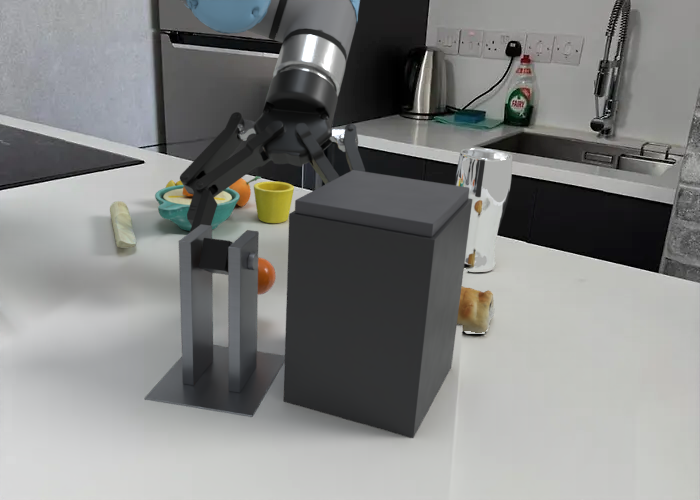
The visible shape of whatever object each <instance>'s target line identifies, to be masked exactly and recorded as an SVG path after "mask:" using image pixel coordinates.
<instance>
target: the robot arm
mask: <svg viewBox="0 0 700 500" xmlns="http://www.w3.org/2000/svg"><path fill="white" fill-rule="evenodd" d="M179 1H180V2H182V3H183V5H184V6H185V7H186V8H187V9H188V10H190V11H191V12H192V14H193V16H194V17H195V18H196V19H197V20H198V21H199V22H200V23H202V24H203V25H205V26H206V27H208V28H209V29H211V30H212V31H214V32H217V33H221V34H226V35H230V34H241V33H246V32H247V31H248V32H249V33H252V34H256V35H259V36H262V37H265V38H268V39H269V40H271V41H276V42H279V43H282V44H281V48H280V51H279V54H278V57H277V59H276V60H277V61H276V64H275V66H274V70H273V74H272V78H271V81H270V84H269V87H268V90H267V94H266V96H265V101H264V105H263V109H262V113H261V115H260V116H259V117H258V118H257V120H253V119H248V118H243V115H242V113H240V112H238V111H235V112H233V113H232V114H230V116H229V119H228V121H227V123H226V125H225V128H224V129H223V130H222V131H221V132H220V133H219V134H218V135H217V136H216V137H215V138H214V139H213V140H212V141H211V142H210V144H209V145H207V146H206V148H205V149H204V150H203V151H202V152H201V153H200V154H199V155H198V156H197V157H196V158H195V159H194V161H193V160H192V162H191V164H189V165H188V167H186V169H185V170H184V171H183V172H182V173H181V174H179V175H180V176H179V181H180V180H181V182H182V184H183V185H184V187H185V189H186V191H187V192H188V193H189V194H193V197H192V200H191V204H190V207H189V210H188V213H187V219H188V221H189V222H190V224H191V225H192V227H191V230H190V231H189V233H190V232H191V231H193V230H194V229H196V228H197V227H198V226H200V225H210V226H211V224H212V220H213V217H214V214H215V211H216V207H217V203H216V201H215V199H214V197H215V196H217V195H218V194H219V193H221V192H222V191H224V190H225V189H226V188H228V187H229V186H231V185H232V184H233V183H235V182H236V181H238V180H239V179H240V178H242V179H243V178H244V177H245V176H246V175H247V174H250V172H251V171H253V170H255V169H256V168H261V167H263V166H265V165H266V164H267V163H269V162H271V161H272V162H273V164H276V165H286V164H289V165H292V166H295V167H302V168H303V165H307V164H308V163H309V164H310V165H311V167H312V168H313V169H314V171H315V173H316V174H318V176H319V177H320V179H321V181H322V182H323V183H324V185H325V184H327V183H329V182H331V181H333V180H335V179H337V178H339V177H340V175H339V174H338V172H337V171H336V169H335V167H334V166H333V165H332V163H331V162H330V160H329V159H328V157H327V156H326V154H325V152H324V151H325V150H326V149H327V148H328V147H330V146H331V145H332V144H333V143H336V145H337V148H338V149H339V150H340V151H342V152H343V153H345V158H346V161H347V164H348V167H349V168H348V169H349V170H350V171H352V170H356V171H363V172H367V171H366V168H365V165H364V161H363V159H362V158H361V154H360V152H359V138H358V130H357V126H356V124H354V123H348V124H345V127H344V128H332V126H333V123H334V122H333V121H334V117H335V114H336V109H337V106H338V105H337V104H338V101H339V100H338V97H339V95H340V91H341V87H342V83H343V79H344V77H345V76H344V75H345V72H346V66H347V62H348V58H349V54H350V51H351V46H352V42H353V38H354V35H355V30H356V26H357V24H358V21H359V9H360V2H361V0H179ZM252 134H255V136H253V137H251V139H249V140H248V137H250V135H252ZM247 140H248V141H247ZM246 141H247V142H246ZM242 142H246V144H245V146H244V147H243V148H241V149H240V150H239V151H237V149H238V148H239V147H240V146H241V144H242ZM261 148H262V151H261ZM236 151H237V152H236ZM234 152H236V153H235V154H234ZM350 171H349V172H350Z"/></svg>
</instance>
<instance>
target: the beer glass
mask: <svg viewBox="0 0 700 500" xmlns="http://www.w3.org/2000/svg"><path fill="white" fill-rule="evenodd" d="M513 159H514V156H513V154H511V153H509V152H507V151H503V150H499V149H491V148H482V147H469V148H463V149H461V150H460V152H459V156H458V162H457V167H456V172H455V179H454V185H455V186H462V187H468V188H469V196H468V198H469V199H472V207H471V215H470V223H469V231H468V239H467V247H466V255H465V263H464V268H466V269H473V270H483V269H489V268H492V267H494V266H495V267H496V241H497V236H498V234H499V231H500V227H501V224H502V221H503V218H504V215H505V212H506V208H507V206H508V202H509V197H510V192H511V185H512V175H513Z"/></svg>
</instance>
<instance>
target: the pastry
mask: <svg viewBox="0 0 700 500" xmlns="http://www.w3.org/2000/svg"><path fill="white" fill-rule="evenodd" d="M494 301H495V300H494V293H493V292H492V291H491V290H490V289H487V290H485V291H484V292H483V291H482V290H481V291H480V290H477V289H475V288H472V287H466V286H463V285H462V287H461V294H460V302H459V310H458V318H457V325H460V326H462V330H463V331H471V332H475V333H482V332H486V330H487V329H488V328H489V329H490V325H489V323H490V321H491V320H492V319H493V318H494V317H495V308H494V307H495V306H494ZM490 324H491V323H490ZM488 326H489V327H488ZM486 333H487V332H486Z"/></svg>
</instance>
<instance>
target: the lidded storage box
mask: <svg viewBox="0 0 700 500" xmlns="http://www.w3.org/2000/svg"><path fill="white" fill-rule="evenodd" d="M468 196H469V188H468V187H462V186H455V184H448V183H443V182H442V183H441V182H436V181H435V182H434V181H428V180H421V179H414V178H409V177H401V176H395V175H389V174H381V173H377V172H369V171H366V172H363V171H356V170H352V171H349V172H346V173H344V174H343V175H341V176H339V178H337V179H335V180H333V181H331V182H329V183H327V184H325V183H324V184H323V185H322V186H319V187H318V188H315V189H313V190H312V191H310V192H308V193H306V194H304V195H302V196H300V197H299V198H297V199H295V200H294V201H295V203H294V210H293V211H291V212H289V217H288V243H287V270H286V271H287V275H286V276H287V277H286V304H285V305H286V306H285V307H286V308H285V309H286V312H285V341H284V355H285V362H284V371H283V372H284V374H283V403H285V404H287V403H288V404H290V405H293V406H298V407H301V408H305V409H308V410H312V411H315V412H318V413H322V414H326V415H329V416H334V417H336V418H340V419H343V420H347V421H350V422H354V423H356V424H357V423H358V424H361V425H364V426H368V427H372V428H374V429H379V430H382V431H386V432H390V433H393V434H396V435H400V436H403V437H407V438H410V439H414V438H415V436H416V434H417V433H418V431H419V429H420V427H421V425H422V424H423V422H424V419H425V417H426V416H427V415H428V412H429V410H430V408H431V406H432V404H433V403H434V400H435V399H436V397H437V395H438V393H439V391H440V390H441V387H442V386H443V384H444V382H445V380H446V378H447V376H448V375H449V373H450V371H451V369H452V365H453V359H454V357H453V356H454V350H455V340H456V334H457V333H456V332H457V327H458V326H457V325H458V324H457V318H458V310H459V302H460V294H461V287H462V286H463V278H464V271H465V270H464V263H465V255H466V247H467V239H468V231H469V223H470V215H471V207H472V199H469V198H468Z"/></svg>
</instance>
